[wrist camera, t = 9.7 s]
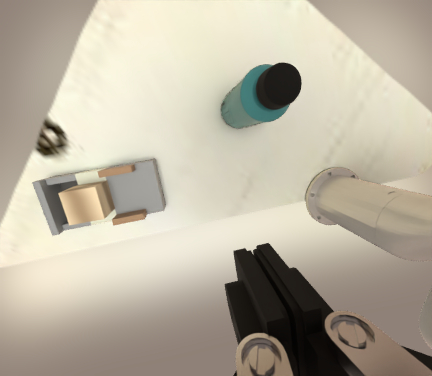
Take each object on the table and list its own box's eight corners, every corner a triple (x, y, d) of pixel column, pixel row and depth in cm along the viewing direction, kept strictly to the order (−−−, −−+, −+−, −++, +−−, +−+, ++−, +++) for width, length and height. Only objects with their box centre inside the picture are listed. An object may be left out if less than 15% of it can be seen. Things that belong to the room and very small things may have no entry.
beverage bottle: (251, 130, 40) (312, 122, 21) (216, 128, 39) (248, 117, 20) (254, 93, 39) (322, 49, 20) (218, 90, 38) (254, 40, 19)
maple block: (107, 180, 35) (95, 186, 30) (115, 208, 37) (104, 218, 32) (75, 185, 35) (58, 193, 30) (84, 213, 36) (69, 225, 31)
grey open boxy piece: (155, 159, 39) (149, 162, 33) (165, 204, 41) (162, 215, 35) (51, 176, 37) (27, 183, 31) (68, 223, 39) (48, 238, 34)
